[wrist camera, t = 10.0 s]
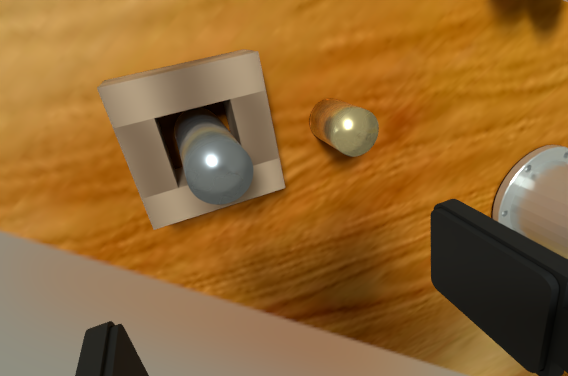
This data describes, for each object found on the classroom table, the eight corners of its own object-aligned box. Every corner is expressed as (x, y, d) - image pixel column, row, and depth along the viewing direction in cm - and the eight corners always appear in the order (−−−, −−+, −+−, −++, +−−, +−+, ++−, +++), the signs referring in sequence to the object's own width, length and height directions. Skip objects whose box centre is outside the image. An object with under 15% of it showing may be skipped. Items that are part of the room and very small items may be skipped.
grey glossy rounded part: (344, 93, 31) (376, 103, 27) (349, 133, 33) (380, 149, 28) (306, 104, 30) (332, 115, 26) (312, 144, 32) (338, 162, 27)
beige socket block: (244, 49, 27) (258, 51, 24) (270, 170, 31) (285, 188, 28) (104, 80, 25) (96, 87, 21) (153, 206, 29) (153, 229, 26)
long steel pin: (215, 102, 28) (245, 133, 19) (226, 146, 29) (259, 193, 21) (167, 114, 27) (177, 151, 18) (182, 158, 29) (197, 213, 20)
